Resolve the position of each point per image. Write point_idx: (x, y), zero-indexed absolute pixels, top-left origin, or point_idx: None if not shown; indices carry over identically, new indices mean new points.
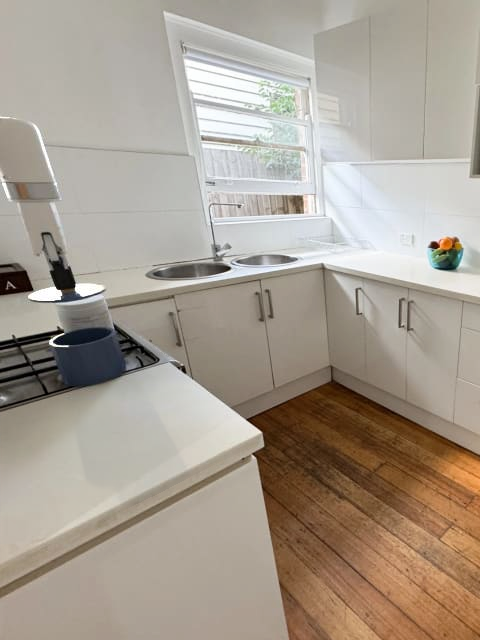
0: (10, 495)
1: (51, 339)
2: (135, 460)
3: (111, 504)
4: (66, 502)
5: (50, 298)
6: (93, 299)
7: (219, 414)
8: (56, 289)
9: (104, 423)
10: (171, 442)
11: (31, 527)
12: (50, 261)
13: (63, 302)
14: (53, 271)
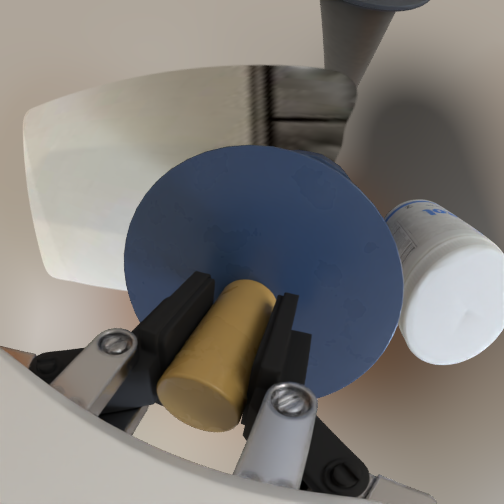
0: (61, 99)
1: (326, 163)
2: (50, 189)
3: (26, 166)
4: (38, 139)
5: (162, 221)
6: (425, 340)
7: (77, 275)
8: (195, 271)
9: (114, 176)
10: (58, 222)
11: (32, 120)
12: (31, 361)
13: (469, 267)
14: (145, 341)
